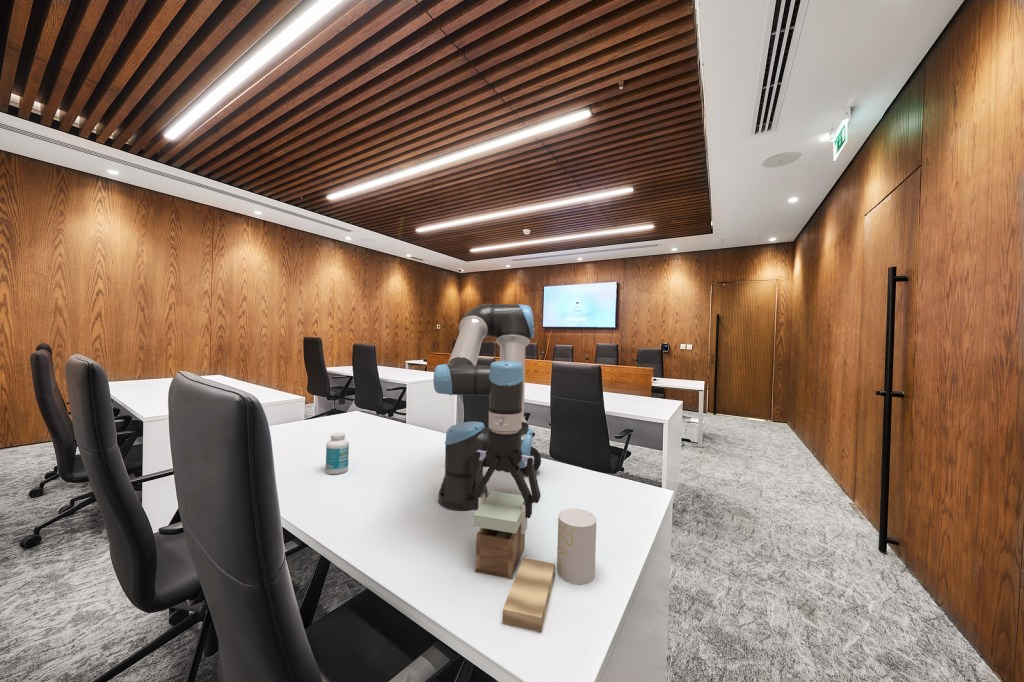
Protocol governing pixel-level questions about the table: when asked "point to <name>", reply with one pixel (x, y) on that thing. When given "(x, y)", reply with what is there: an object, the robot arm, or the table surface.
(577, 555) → the cup
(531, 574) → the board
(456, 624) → the table surface
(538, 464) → the black ball
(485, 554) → the box
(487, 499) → the lid
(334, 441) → the pill bottle
